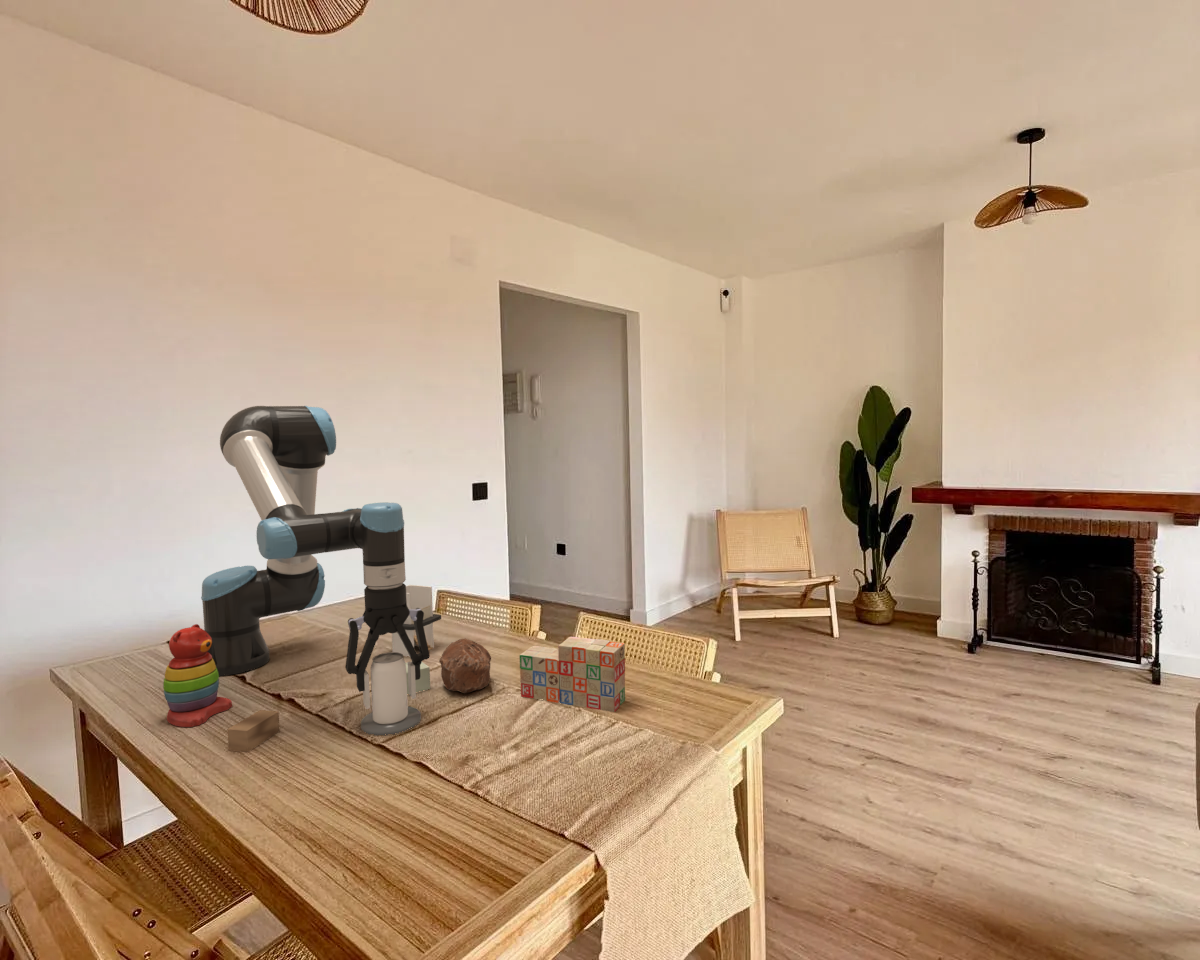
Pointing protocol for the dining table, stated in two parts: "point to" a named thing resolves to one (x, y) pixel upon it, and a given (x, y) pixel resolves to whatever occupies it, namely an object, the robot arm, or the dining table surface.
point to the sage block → (421, 678)
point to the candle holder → (415, 599)
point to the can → (389, 688)
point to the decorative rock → (465, 666)
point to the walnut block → (253, 730)
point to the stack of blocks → (576, 673)
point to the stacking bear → (192, 679)
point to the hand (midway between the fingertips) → (390, 701)
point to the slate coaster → (378, 729)
